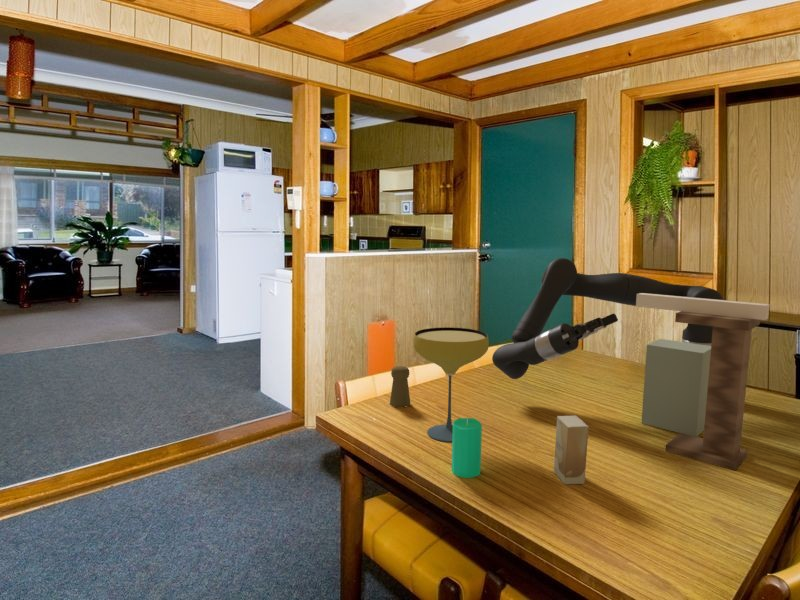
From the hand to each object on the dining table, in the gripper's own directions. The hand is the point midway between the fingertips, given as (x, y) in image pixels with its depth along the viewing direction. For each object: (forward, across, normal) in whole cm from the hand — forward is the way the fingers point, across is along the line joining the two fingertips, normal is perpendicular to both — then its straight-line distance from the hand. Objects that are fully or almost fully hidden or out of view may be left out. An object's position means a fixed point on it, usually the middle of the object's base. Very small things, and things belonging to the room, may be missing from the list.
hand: (609, 318), depth 135 cm
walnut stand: (+7, 0, +36) cm, 37 cm away
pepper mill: (-56, -25, 0) cm, 61 cm away
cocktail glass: (-36, -32, +12) cm, 49 cm away
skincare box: (-8, -33, +28) cm, 44 cm away
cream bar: (+19, 0, +6) cm, 20 cm away
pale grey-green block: (-3, +14, +31) cm, 34 cm away
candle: (-22, -45, +20) cm, 54 cm away
